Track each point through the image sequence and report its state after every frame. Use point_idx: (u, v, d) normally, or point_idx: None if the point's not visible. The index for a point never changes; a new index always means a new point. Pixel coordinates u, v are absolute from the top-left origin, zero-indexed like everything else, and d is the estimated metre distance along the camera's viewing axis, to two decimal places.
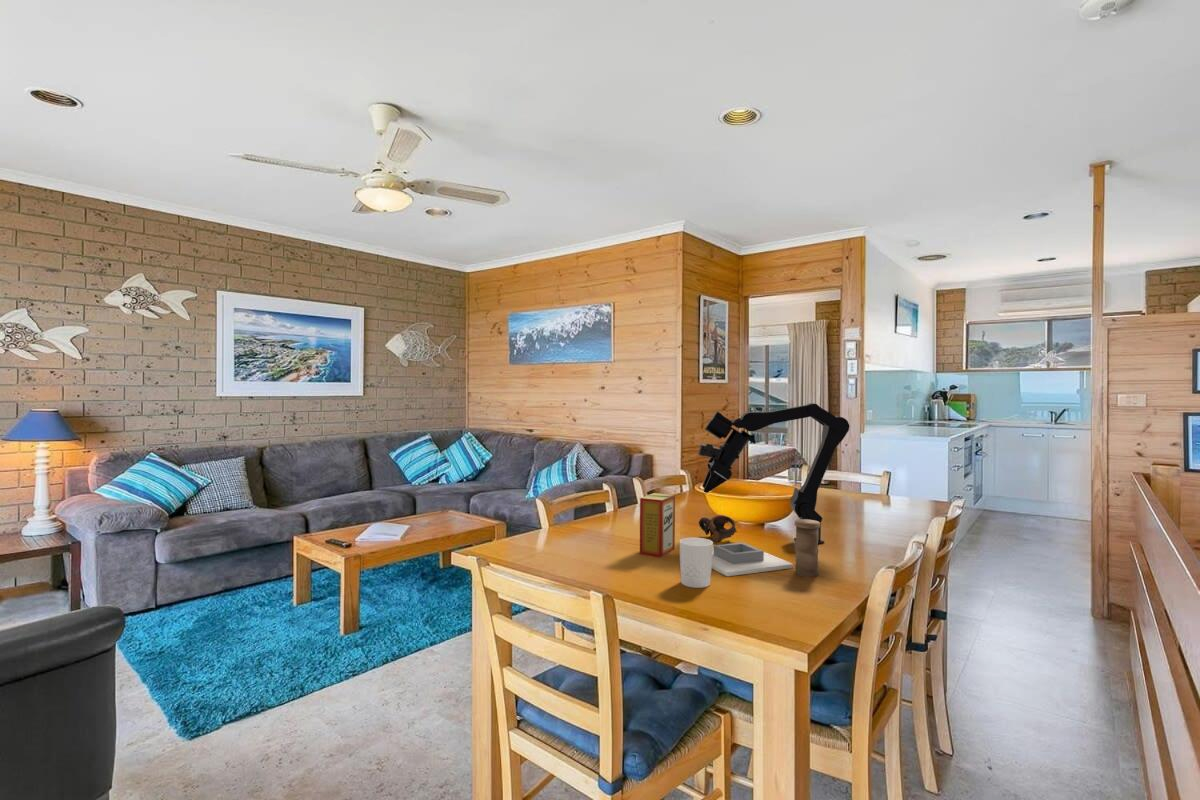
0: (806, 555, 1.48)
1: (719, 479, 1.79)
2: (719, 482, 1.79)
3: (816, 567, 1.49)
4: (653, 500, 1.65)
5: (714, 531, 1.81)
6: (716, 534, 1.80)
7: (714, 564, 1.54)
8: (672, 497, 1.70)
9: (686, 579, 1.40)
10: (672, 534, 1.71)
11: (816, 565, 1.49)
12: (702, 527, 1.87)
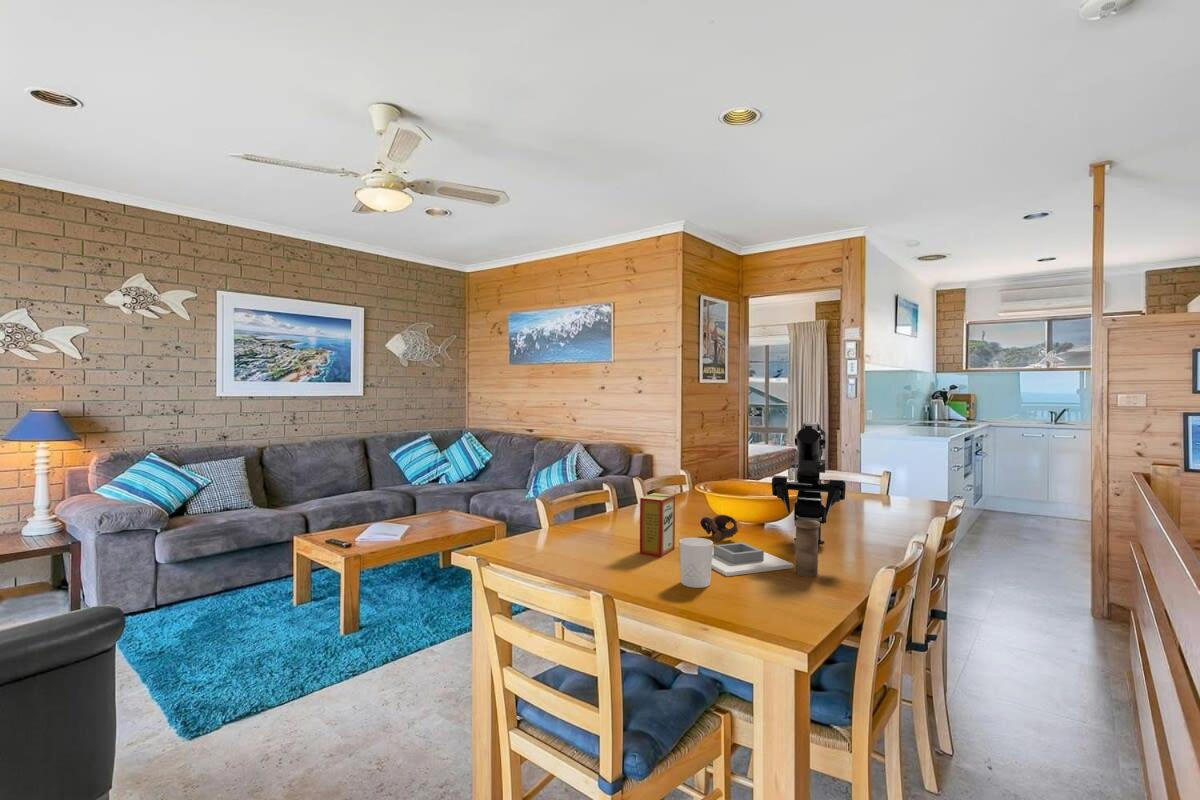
0: (806, 555, 1.48)
1: (832, 500, 1.60)
2: (832, 503, 1.60)
3: (816, 567, 1.49)
4: (653, 500, 1.65)
5: (716, 531, 1.81)
6: (718, 533, 1.81)
7: (714, 564, 1.54)
8: (672, 497, 1.70)
9: (686, 579, 1.40)
10: (672, 534, 1.71)
11: (816, 565, 1.49)
12: (704, 527, 1.88)
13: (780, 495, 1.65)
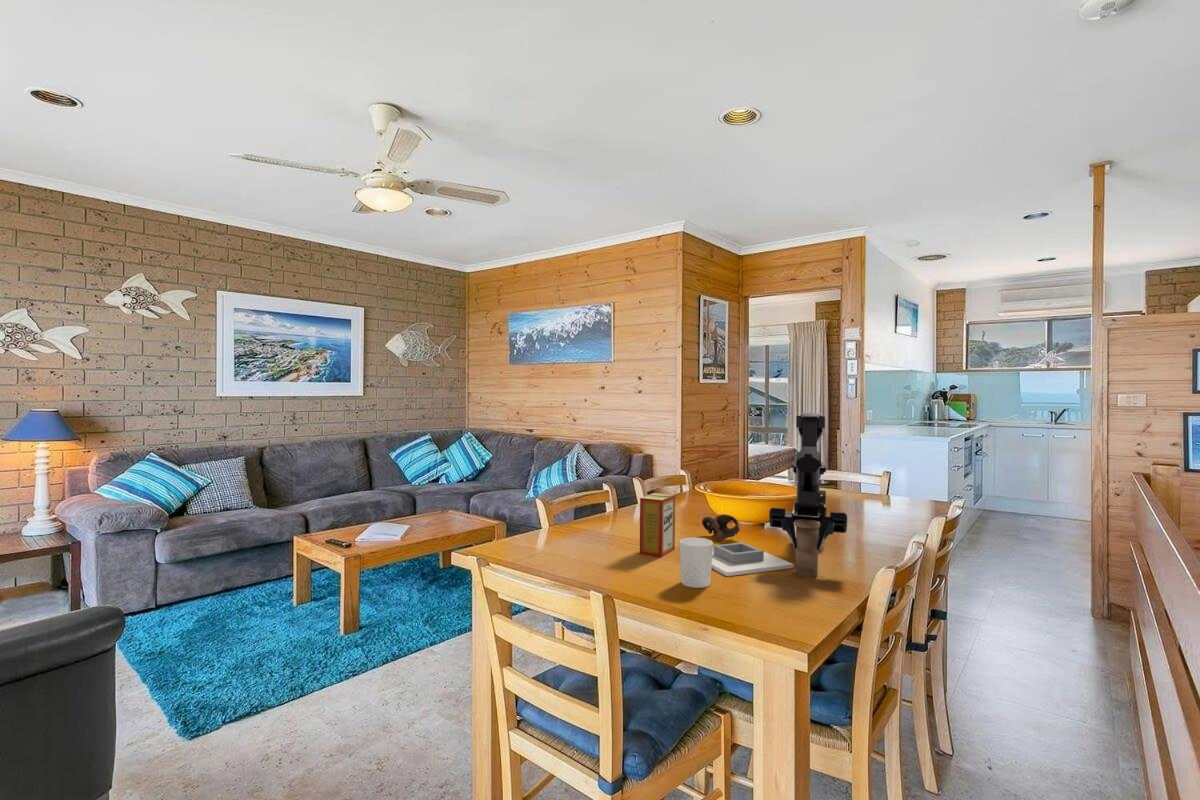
0: (806, 555, 1.48)
1: (825, 532, 1.52)
2: (825, 536, 1.52)
3: (816, 567, 1.49)
4: (653, 500, 1.65)
5: (718, 530, 1.82)
6: (720, 533, 1.81)
7: (714, 564, 1.54)
8: (672, 497, 1.70)
9: (686, 579, 1.40)
10: (672, 534, 1.71)
11: (816, 565, 1.49)
12: (705, 526, 1.88)
13: (785, 527, 1.56)
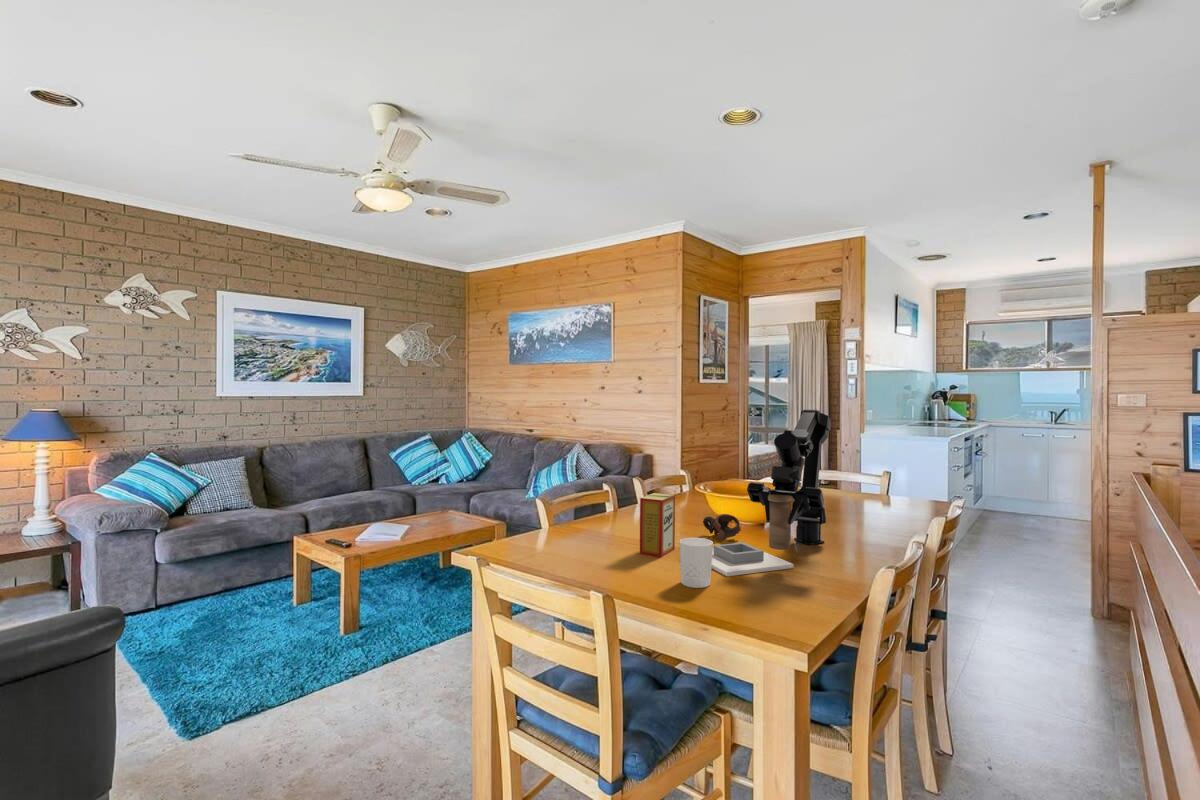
0: (777, 529, 1.51)
1: (800, 508, 1.54)
2: (801, 511, 1.54)
3: (787, 541, 1.51)
4: (653, 500, 1.65)
5: (719, 530, 1.82)
6: (721, 533, 1.82)
7: (714, 564, 1.54)
8: (672, 497, 1.70)
9: (686, 579, 1.40)
10: (672, 534, 1.71)
11: (787, 539, 1.51)
12: (706, 526, 1.89)
13: (764, 502, 1.59)
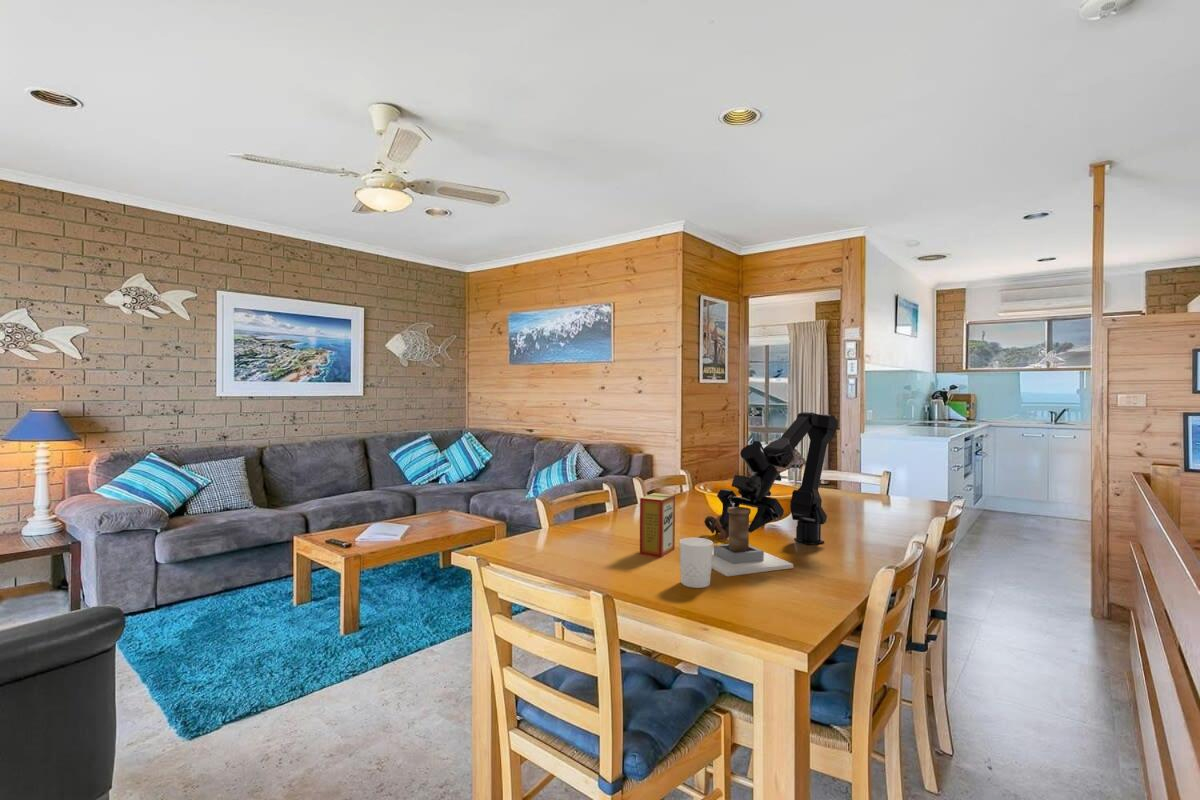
0: (732, 539, 1.59)
1: (766, 517, 1.58)
2: (766, 521, 1.58)
3: (742, 551, 1.58)
4: (653, 500, 1.65)
5: (721, 529, 1.83)
6: (723, 532, 1.82)
7: (714, 564, 1.54)
8: (672, 497, 1.70)
9: (686, 579, 1.40)
10: (672, 534, 1.71)
11: (742, 550, 1.58)
12: (708, 526, 1.89)
13: None
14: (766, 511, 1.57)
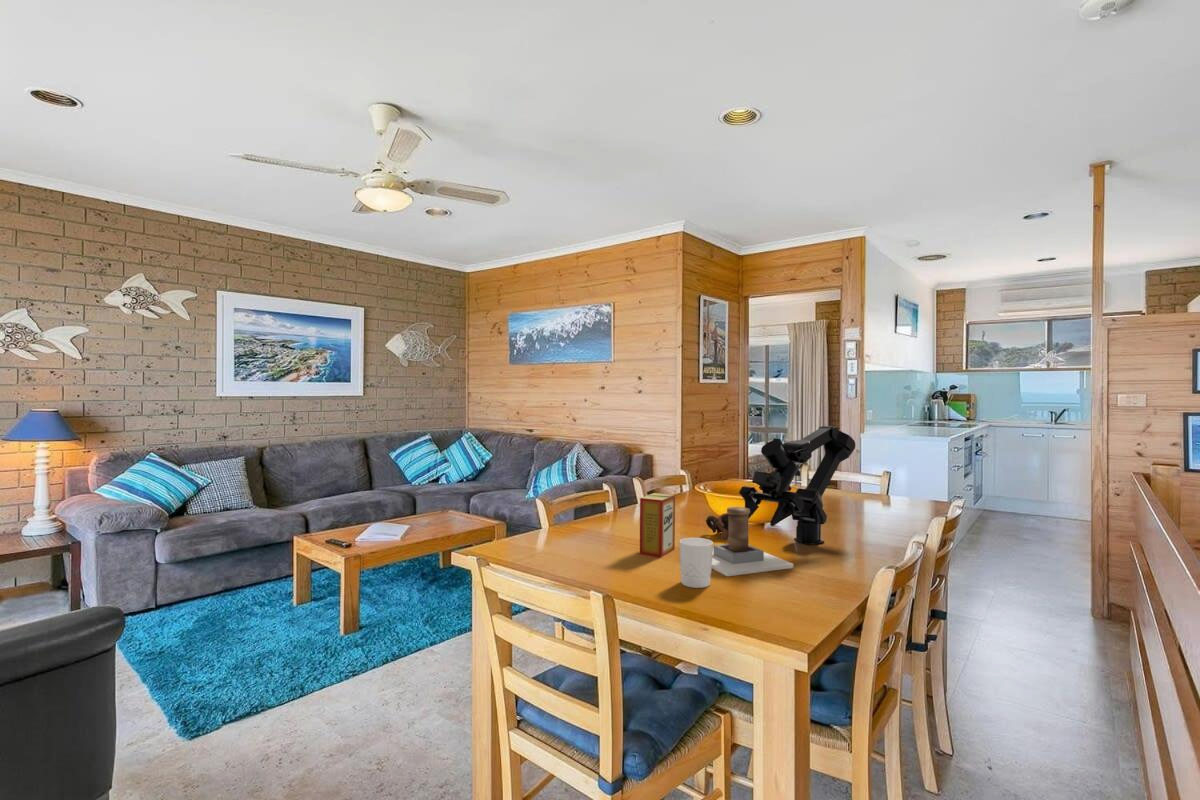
0: (732, 539, 1.59)
1: (787, 511, 1.64)
2: (787, 514, 1.63)
3: None
4: (653, 500, 1.65)
5: (722, 529, 1.83)
6: (724, 532, 1.83)
7: (714, 564, 1.54)
8: (672, 497, 1.70)
9: (686, 579, 1.40)
10: (672, 534, 1.71)
11: (742, 550, 1.58)
12: (709, 525, 1.90)
13: None
14: (787, 505, 1.62)
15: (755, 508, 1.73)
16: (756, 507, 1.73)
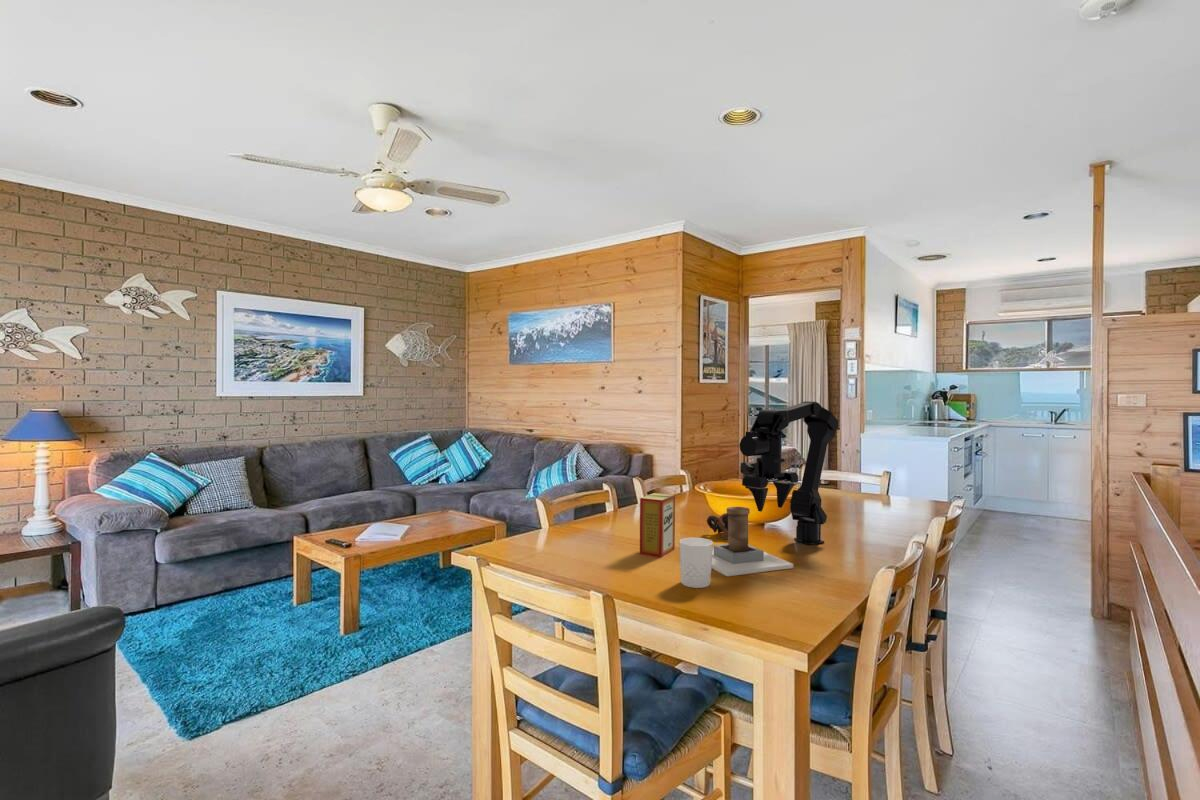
0: (731, 539, 1.59)
1: (760, 491, 1.65)
2: (761, 494, 1.65)
3: None
4: (653, 500, 1.65)
5: (723, 529, 1.84)
6: (725, 532, 1.83)
7: (714, 564, 1.54)
8: (672, 497, 1.70)
9: (686, 579, 1.40)
10: (672, 534, 1.71)
11: (742, 550, 1.58)
12: (710, 525, 1.90)
13: None
14: (752, 488, 1.66)
15: (786, 488, 1.72)
16: (787, 487, 1.72)
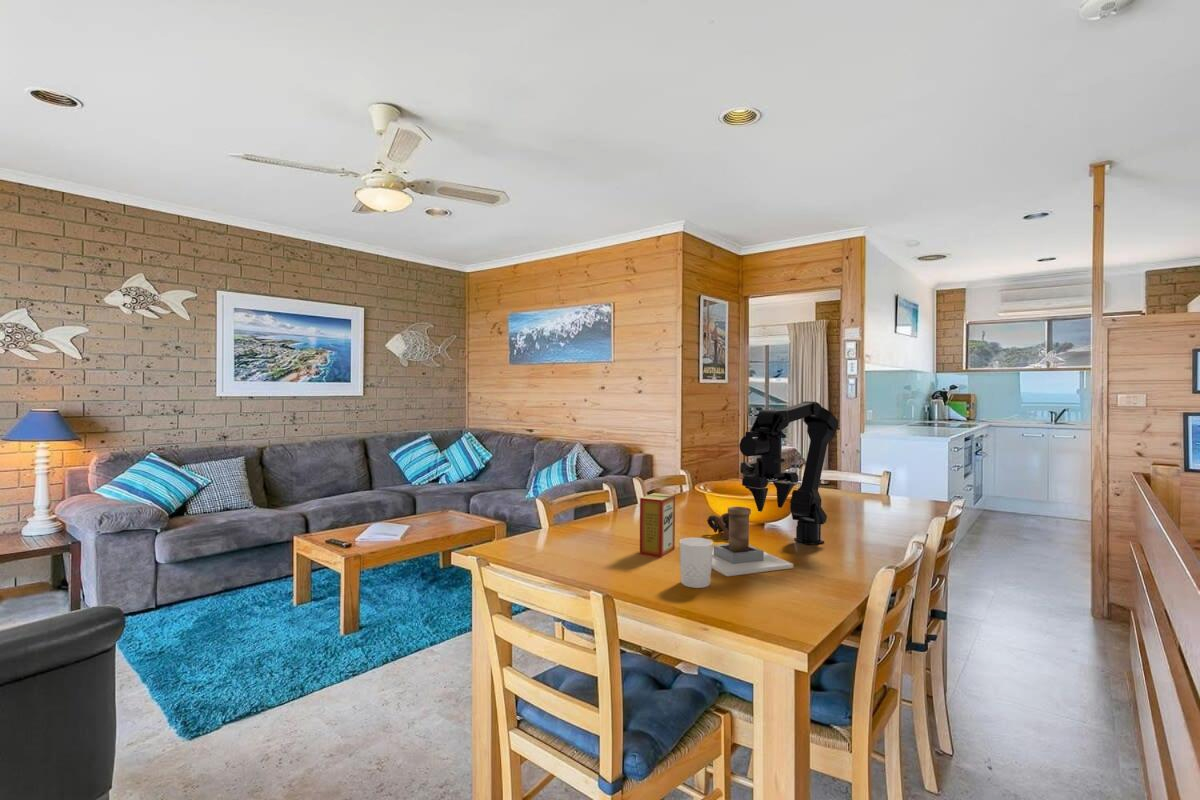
0: (732, 539, 1.59)
1: (760, 491, 1.65)
2: (761, 494, 1.65)
3: None
4: (653, 500, 1.65)
5: (724, 528, 1.84)
6: (726, 531, 1.84)
7: (714, 564, 1.54)
8: (672, 497, 1.70)
9: (686, 579, 1.40)
10: (672, 534, 1.71)
11: (743, 550, 1.58)
12: (711, 525, 1.90)
13: None
14: (752, 488, 1.66)
15: (786, 488, 1.72)
16: (787, 487, 1.72)
